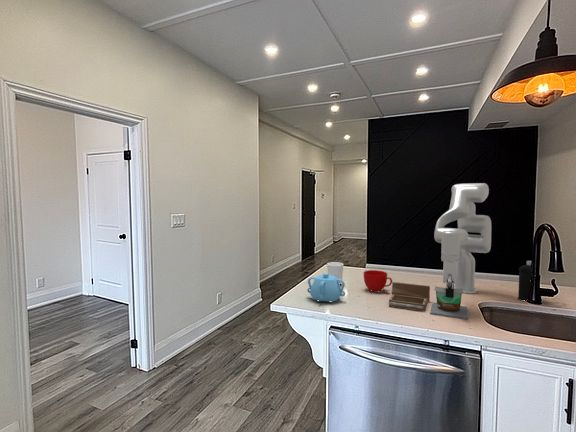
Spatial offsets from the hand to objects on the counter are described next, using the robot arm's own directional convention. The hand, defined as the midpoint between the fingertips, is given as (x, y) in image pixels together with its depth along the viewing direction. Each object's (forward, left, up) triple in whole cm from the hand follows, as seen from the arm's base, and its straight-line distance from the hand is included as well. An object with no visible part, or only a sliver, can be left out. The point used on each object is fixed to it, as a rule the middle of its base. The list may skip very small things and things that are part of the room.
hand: (449, 294), depth 149 cm
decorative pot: (+10, -57, -8) cm, 59 cm away
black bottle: (-34, +35, -8) cm, 50 cm away
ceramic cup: (-17, -36, -8) cm, 41 cm away
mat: (+1, 0, -8) cm, 8 cm away
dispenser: (-1, -18, -8) cm, 20 cm away
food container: (+2, 0, -7) cm, 7 cm away
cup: (-19, -62, -8) cm, 65 cm away
